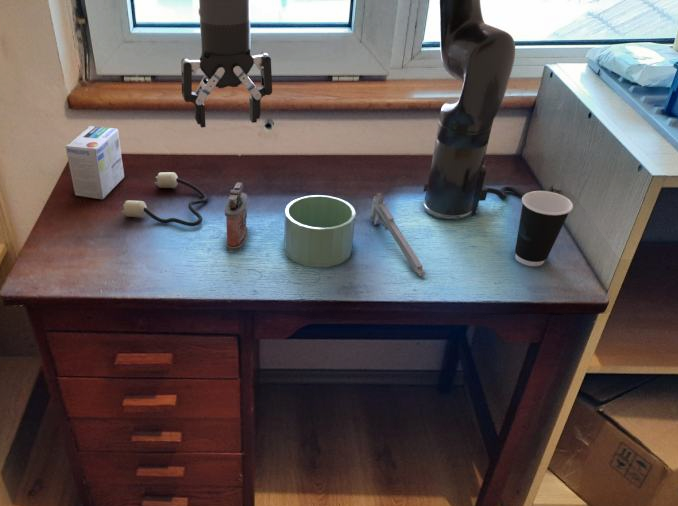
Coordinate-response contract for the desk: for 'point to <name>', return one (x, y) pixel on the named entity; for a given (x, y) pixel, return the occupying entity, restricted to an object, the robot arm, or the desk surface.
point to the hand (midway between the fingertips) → (228, 123)
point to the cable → (164, 182)
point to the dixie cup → (540, 225)
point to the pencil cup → (319, 230)
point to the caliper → (394, 231)
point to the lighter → (236, 219)
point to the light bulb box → (95, 162)
